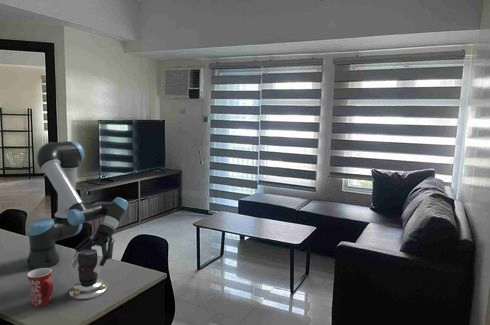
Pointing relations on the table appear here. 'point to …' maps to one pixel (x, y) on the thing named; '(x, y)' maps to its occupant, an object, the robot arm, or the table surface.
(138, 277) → the table surface
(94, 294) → the base
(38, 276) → the mug
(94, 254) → the camera lens
